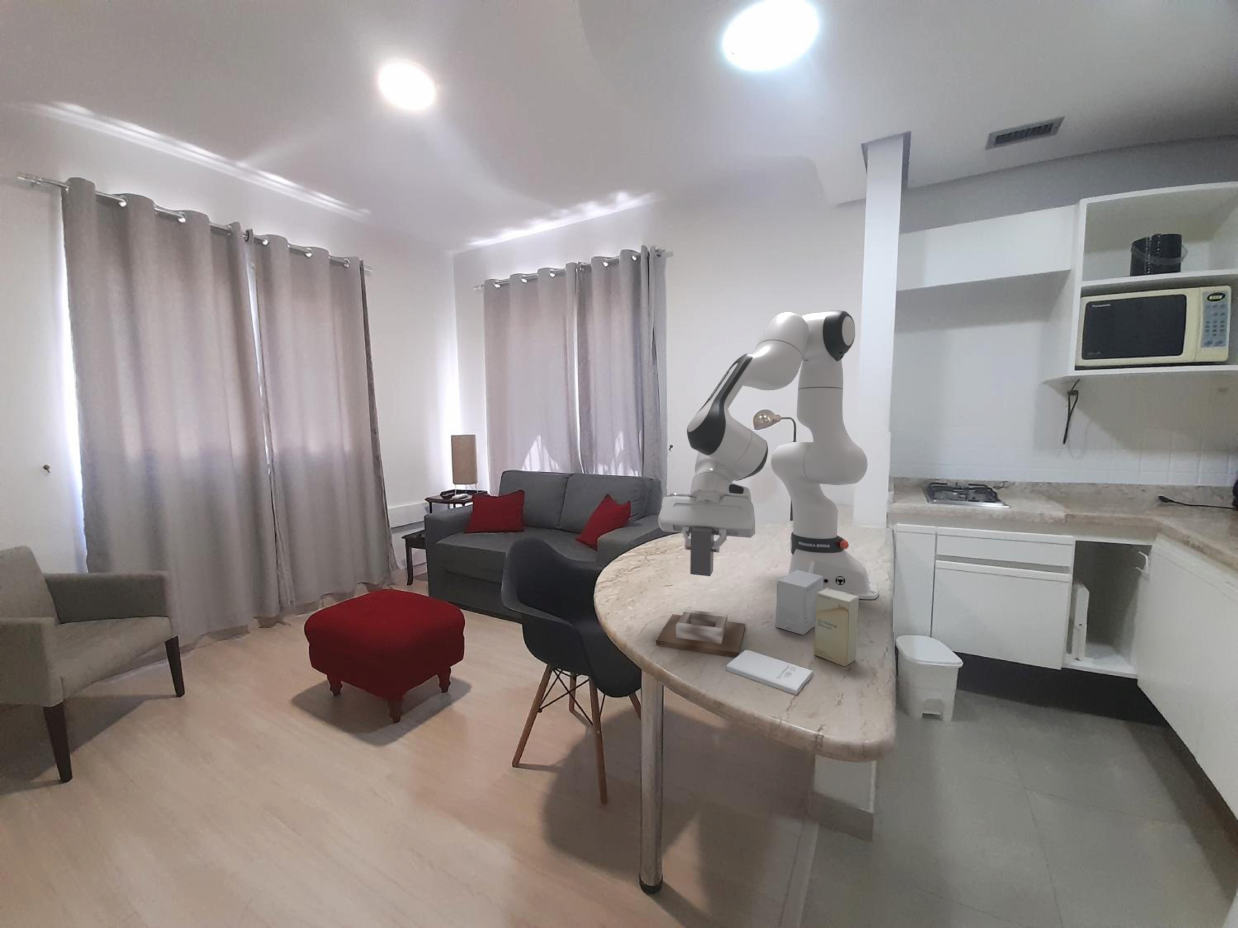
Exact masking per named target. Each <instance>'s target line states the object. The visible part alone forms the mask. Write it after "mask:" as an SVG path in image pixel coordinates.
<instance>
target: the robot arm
mask: <svg viewBox="0 0 1238 928" xmlns="http://www.w3.org/2000/svg"><path fill="white" fill-rule="evenodd" d="M855 337H856V326H855V321H854V318H853V317H852V315H851V314H850V313H849V312H847V311H846V310H835V309H834V310H829V311H828V312H827V311H823V312H822V311H821V312H814V313H807V314H804V315H801V314H798V313H795V312H791V311H790V312H781V313H779V314H777V315H775V316H774V317H773V318H772V319H771V320H770V322H769V323H768V325H767V326H766V327H765V329H764V331H763V332H762V334H761V335H760V338H759V340H758V342H757V344H756V347H755V349H754V351H752V352H751V353H744V354H743V355H741V356H739V357H738V358H737V359H736V360H735V361H734V362H733V363H732V364H731V366H730V367H729V368H728V369H727V370H726V372H725V373H724V375H723V376H722V378H721V379H720V381H719V382H718V384H717V385H716V387H715V388H714V389H713V391H712V392H711V394H710V395H709V397H708V398H707V400H706V401H705V403H704V404H703V405H702V406H701V408H700V409H699V410H698V411H697V412H696V414H695V415H694V417H692V418H691V420H690V422H689V424H688V426H687V427H686V428H687V429H686V436H687V440H688V442H689V446H690V448H691V449H693V450H695V451H697V452H698V453H697V455H696V460H695V464H694V476H693V478H692V480H691V487H690V492H689V493H675V492H674V493H670V494H668V495H666V496H664V497H663V498H662V501H661V508H660V511H659V514H658V517H657V524H658V526H659V528H660V530H662V532H666V533H667V532H670V533H681V534H682V537H683V539H684V549H685V550H686V551H691V538H690V537H691V530H692V529H693V528H694V527H706V528H714V536H718V538H717V539H716V540H714V541H712V546H711V550H712V552H714V553H720V550H721V546H722V545H723V544H725V542H726V541H727V540H728V539H727V537H733V538H735V537H737V538H749V539H750V538H753V537H754V535H755V534H756V516H755V509H754V508H755V507H754V504H753V502H752V495H751V491H750V489H749V488H748V487H747V486H743V485H741V484H736V483H734V482H738V481H742V480H744V479H748V478H750V477H753V476H755V475H757V474H758V473H760V472H761V471H762V470H763V468H764V467H765V465H766V463H767V460H768V455H769V445H768V442H767V440H766V439H764V438H763V437H762V436H760V435H759V434H758V433H756V432H755V431H754V430H751V428H749V427H747V426H745V425H744V424H743V423H741V422H739V421H738V420H737V419H735V418H734V417H732V416H731V413H730V412H729V411H730V410H729V408H730V406H731V404H732V403H733V402H734V400H735V399H736V397H737V395H738V394H739V392H740V391H741V389H742V388H743V387H750V388H754V389H757V390H760V391H776V390H781V389H783V388H785V387H787V386H789V385H790V384H792V382H794V380H795V378H796V377H797V375H798V374H799V375H798V376H799V377H798V382H797V383H798V385H797V402H796V403H797V404H796V418H797V420H798V422H799V423H800V424H801V425H802V426H804V427H806V428H808V430H809V432H810V433H811V435H812V440H813V441H811V442H810V441H794V442H787V443H784V444H780V445H778V446H777V447H776V448H774V451H772V452H773V453H772V455H771V459H770V464H771V469H772V472H773V473H774V475H776V476H777V477H778V479H780V480H781V482H782V483H783V484H784V486H785V488H786V490H787V492H788V495H789V497H790V501H791V502H790V503H791V507H792V532H791V534H790V542H789V543H790V548H789V549H790V553H791V557H790V564H789V565H790V566H789V569H788V573H787V575H789V574H791V573H793V572H794V571H796V570H799V571H803V572H808V573H812V574H816V575H821V576H823V589H825V588H829V589H833V590H837V591H841V592H845V593H848V594H852V595H856V596H859V600H875V599H877V598H878V596H879V589H878V587H877V586H876V585H875V584H874V583H873V582H871V581H869V575H868V571H867V569H866V568H865V566H864V564H862V563H861V562H860V561H859V560H858V559H856V558H855V557H854V556H853V555H852V554H850V553H849V552H848V551H847V549H849V547H850V544H849V542H848V540H846V538H843V537H842V536H840V535H839V534H838V516H839V515H838V511H839V510H838V507H837V505H836V503H835V502H834V501H833V500H831V499H830V498H828V497H827V496H826V495H825V493H824V491H823V490H822V488H821V485H831V486H846V485H847V486H848V485H854V484H857V483H859V482H860V481H861V480H862V479H864V476H865V475H866V472H867V471H868V458H867V455H866V453H865V452H864V450H863V449H862V448H861V447H860V446H859V445H857V444H856V443H855V442H854V440H853V439H852V438H851V437H850V436H849V433H848V431H847V429H846V426H845V423H844V419H843V418H844V416H843V414H844V413H843V401H844V399H843V397H844V396H843V395H844V372H843V362H842V359H843V358H844V356H845V354H847V353H848V352H849V350H850V349H851V348H852V346H853V344H854V341H855Z"/></svg>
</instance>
